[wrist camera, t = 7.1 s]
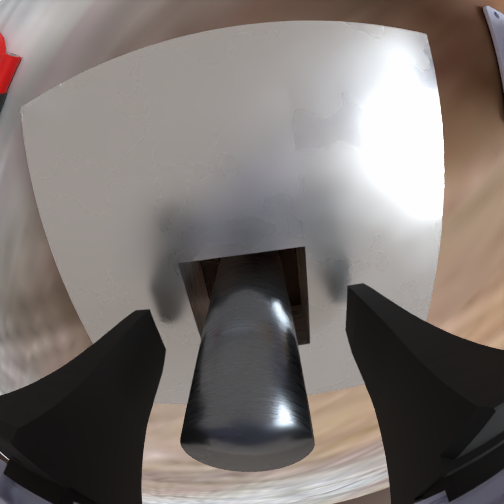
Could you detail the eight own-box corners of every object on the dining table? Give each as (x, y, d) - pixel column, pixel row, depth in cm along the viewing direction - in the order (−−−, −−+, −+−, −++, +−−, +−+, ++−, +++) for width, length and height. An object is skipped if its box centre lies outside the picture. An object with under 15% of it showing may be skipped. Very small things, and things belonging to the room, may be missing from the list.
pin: (279, 237, 13) (319, 410, 4) (283, 293, 14) (311, 466, 6) (213, 243, 13) (162, 416, 5) (223, 299, 14) (199, 470, 6)
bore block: (392, 49, 9) (426, 33, 6) (392, 338, 15) (411, 371, 13) (59, 107, 10) (20, 107, 7) (141, 366, 16) (128, 401, 14)
